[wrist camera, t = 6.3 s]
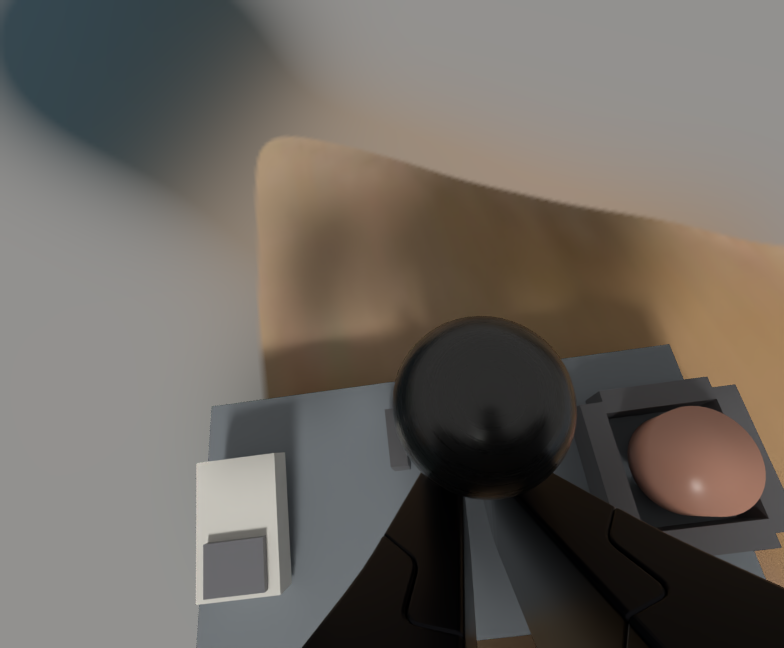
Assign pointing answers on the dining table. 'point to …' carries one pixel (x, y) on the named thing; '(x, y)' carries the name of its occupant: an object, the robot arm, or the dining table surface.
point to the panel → (398, 474)
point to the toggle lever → (484, 408)
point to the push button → (697, 463)
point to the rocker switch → (242, 529)
